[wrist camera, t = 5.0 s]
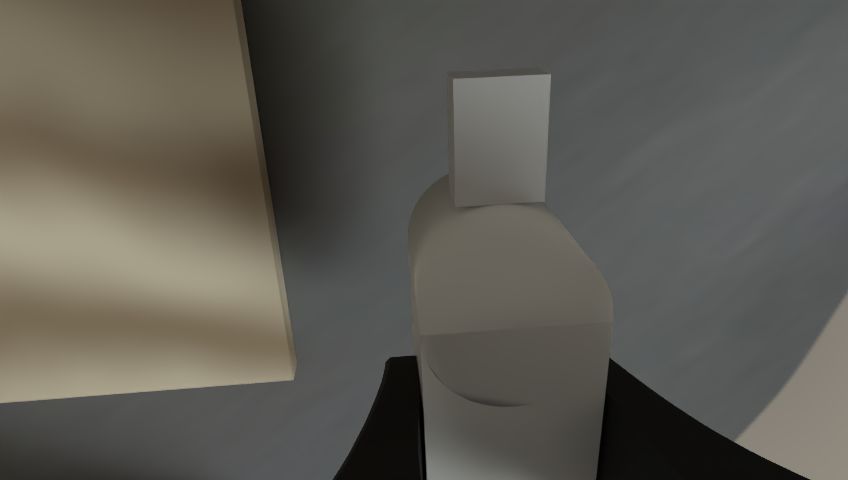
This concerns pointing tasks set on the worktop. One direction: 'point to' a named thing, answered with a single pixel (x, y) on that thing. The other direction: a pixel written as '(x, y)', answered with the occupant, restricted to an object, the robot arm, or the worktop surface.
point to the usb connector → (504, 298)
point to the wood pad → (134, 202)
